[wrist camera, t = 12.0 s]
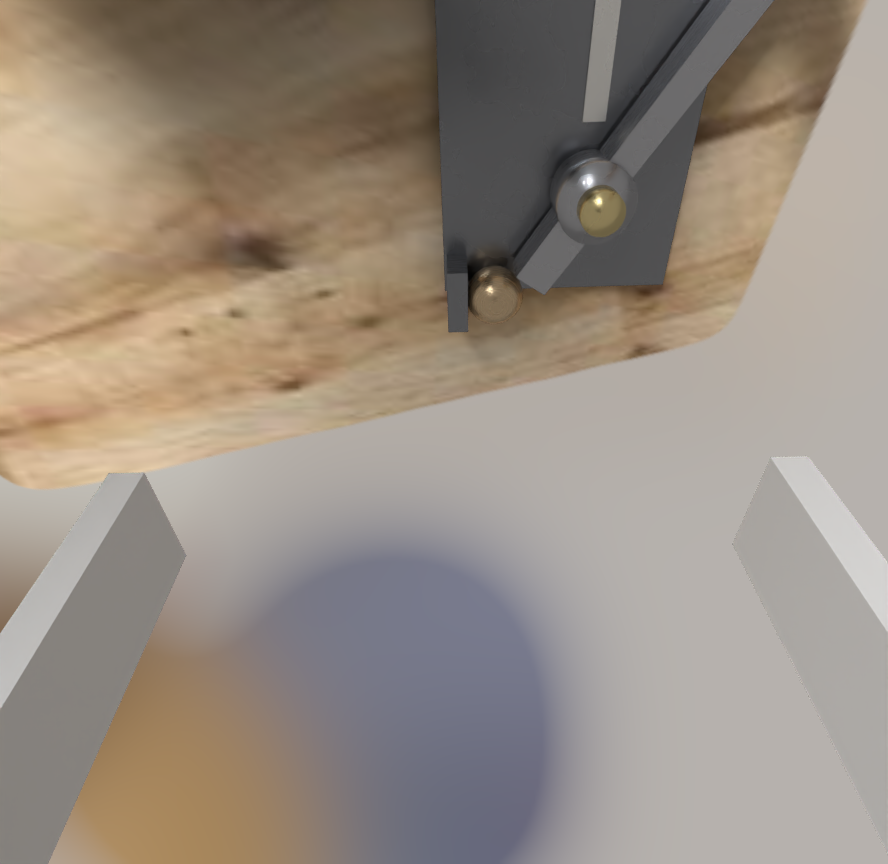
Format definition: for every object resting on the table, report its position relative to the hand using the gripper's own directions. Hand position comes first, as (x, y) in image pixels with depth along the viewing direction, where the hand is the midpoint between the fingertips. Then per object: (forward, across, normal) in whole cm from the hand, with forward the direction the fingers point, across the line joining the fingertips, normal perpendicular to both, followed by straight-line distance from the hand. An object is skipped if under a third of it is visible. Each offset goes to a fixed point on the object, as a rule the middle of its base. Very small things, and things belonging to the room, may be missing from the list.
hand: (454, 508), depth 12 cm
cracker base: (+32, +8, +1) cm, 33 cm away
